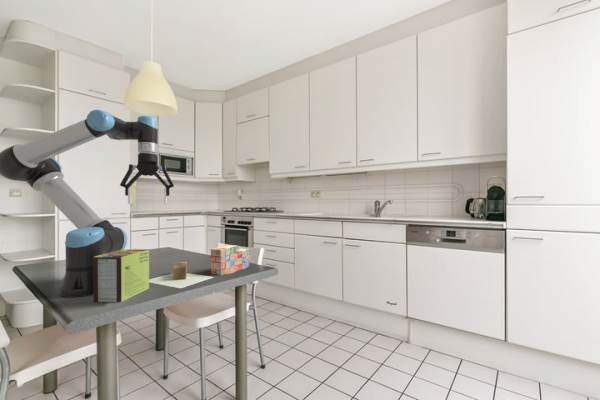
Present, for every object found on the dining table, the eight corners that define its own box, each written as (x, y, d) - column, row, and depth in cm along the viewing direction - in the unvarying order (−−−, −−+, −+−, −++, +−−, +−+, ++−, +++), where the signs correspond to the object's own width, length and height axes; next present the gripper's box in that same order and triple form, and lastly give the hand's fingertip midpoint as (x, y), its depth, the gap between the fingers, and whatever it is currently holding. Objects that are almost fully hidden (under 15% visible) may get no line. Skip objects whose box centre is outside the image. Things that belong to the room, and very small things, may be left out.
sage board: (142, 282, 122) (142, 281, 122) (178, 273, 138) (178, 271, 138) (180, 289, 112) (180, 288, 112) (214, 278, 128) (214, 277, 128)
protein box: (149, 289, 112) (149, 249, 112) (121, 303, 97) (121, 256, 97) (124, 289, 113) (124, 248, 113) (92, 302, 98) (92, 256, 98)
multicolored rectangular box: (240, 265, 153) (240, 242, 153) (250, 267, 150) (249, 243, 150) (210, 275, 134) (210, 248, 134) (220, 276, 131) (220, 249, 131)
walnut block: (185, 279, 124) (186, 272, 136) (185, 267, 124) (186, 261, 136) (173, 280, 123) (175, 273, 134) (172, 268, 123) (175, 262, 134)
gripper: (111, 150, 117) (111, 203, 117) (178, 153, 125) (178, 203, 125) (116, 153, 125) (116, 203, 124) (180, 156, 132) (180, 203, 132)
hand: (147, 203), depth 125 cm, fingers open, 13 cm apart
